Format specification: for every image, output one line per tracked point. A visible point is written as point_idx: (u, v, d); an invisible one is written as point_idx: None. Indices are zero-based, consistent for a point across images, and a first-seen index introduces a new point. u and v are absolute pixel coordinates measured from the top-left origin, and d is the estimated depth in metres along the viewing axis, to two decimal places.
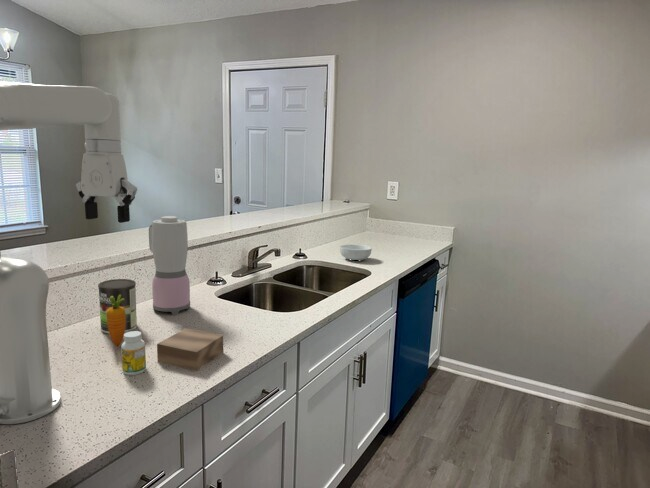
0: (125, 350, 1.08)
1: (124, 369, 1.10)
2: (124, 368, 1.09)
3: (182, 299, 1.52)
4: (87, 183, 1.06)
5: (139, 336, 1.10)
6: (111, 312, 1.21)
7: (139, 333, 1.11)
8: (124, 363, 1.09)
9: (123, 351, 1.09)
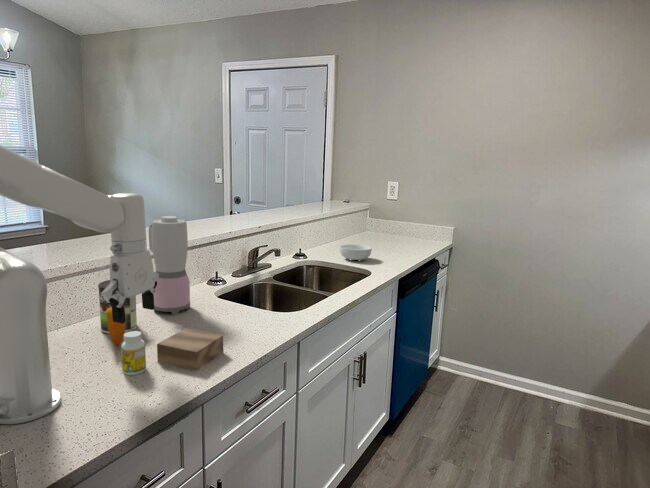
0: (125, 350, 1.08)
1: (124, 369, 1.10)
2: (124, 368, 1.09)
3: (182, 299, 1.52)
4: (133, 284, 1.04)
5: (139, 336, 1.10)
6: (111, 312, 1.21)
7: (138, 333, 1.11)
8: (124, 363, 1.09)
9: (123, 351, 1.09)
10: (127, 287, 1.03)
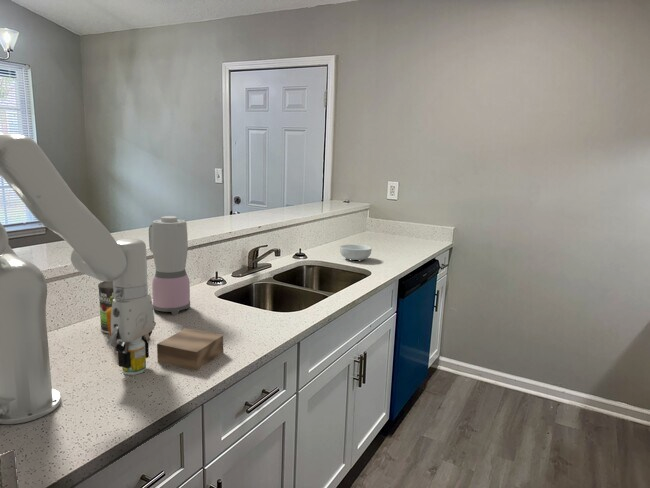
0: None
1: (124, 369, 1.10)
2: (124, 368, 1.09)
3: (182, 299, 1.52)
4: (133, 329, 1.06)
5: None
6: None
7: None
8: None
9: None
10: (127, 332, 1.05)
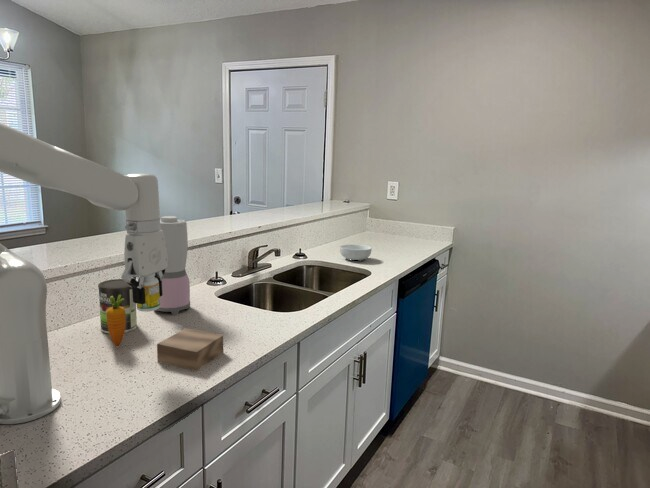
0: None
1: (138, 306, 1.09)
2: (138, 305, 1.09)
3: (182, 299, 1.52)
4: (147, 264, 1.06)
5: None
6: (111, 312, 1.21)
7: None
8: None
9: None
10: (142, 266, 1.04)
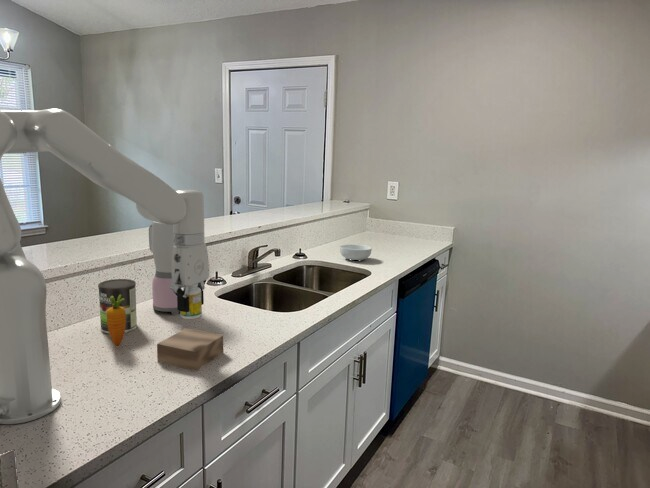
0: None
1: (182, 313, 1.16)
2: (182, 312, 1.16)
3: None
4: (192, 274, 1.13)
5: None
6: (111, 312, 1.21)
7: None
8: None
9: None
10: (188, 277, 1.11)
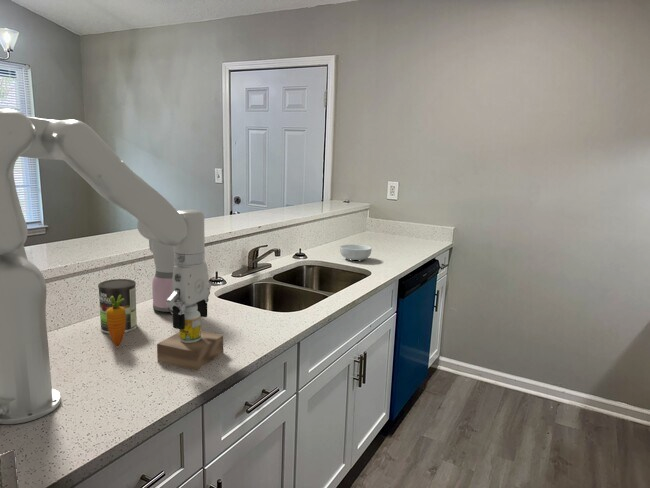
0: None
1: (182, 337, 1.17)
2: (182, 337, 1.17)
3: None
4: (192, 293, 1.13)
5: (196, 307, 1.17)
6: (111, 312, 1.21)
7: (195, 304, 1.18)
8: (182, 332, 1.17)
9: None
10: (188, 296, 1.12)
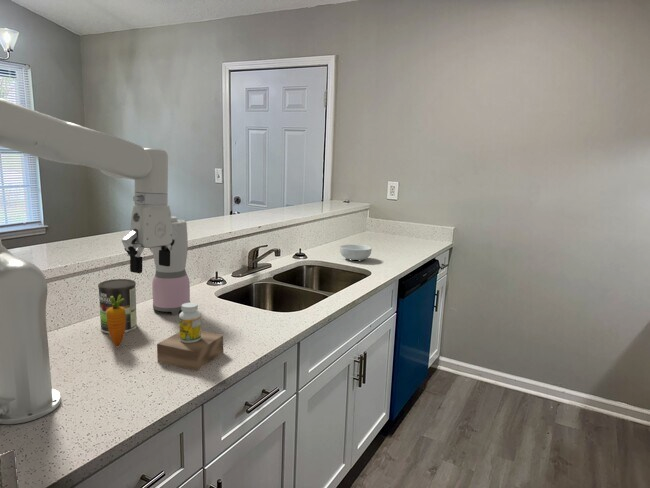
0: (184, 319, 1.16)
1: (182, 337, 1.17)
2: (182, 337, 1.17)
3: (182, 299, 1.52)
4: (152, 236, 1.08)
5: (196, 307, 1.17)
6: (111, 312, 1.21)
7: (195, 304, 1.18)
8: (182, 332, 1.17)
9: (181, 320, 1.16)
10: (146, 237, 1.06)
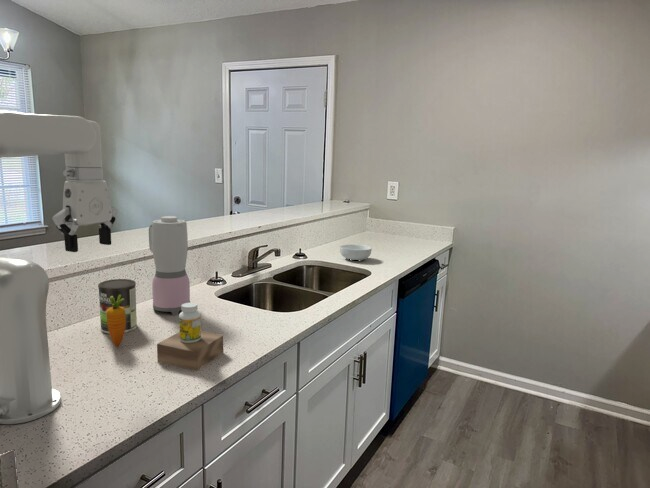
0: (184, 319, 1.16)
1: (182, 338, 1.17)
2: (182, 337, 1.17)
3: (182, 299, 1.52)
4: (86, 212, 1.03)
5: (196, 307, 1.17)
6: (111, 312, 1.21)
7: (195, 304, 1.18)
8: (182, 332, 1.17)
9: (181, 320, 1.16)
10: (80, 214, 1.01)
